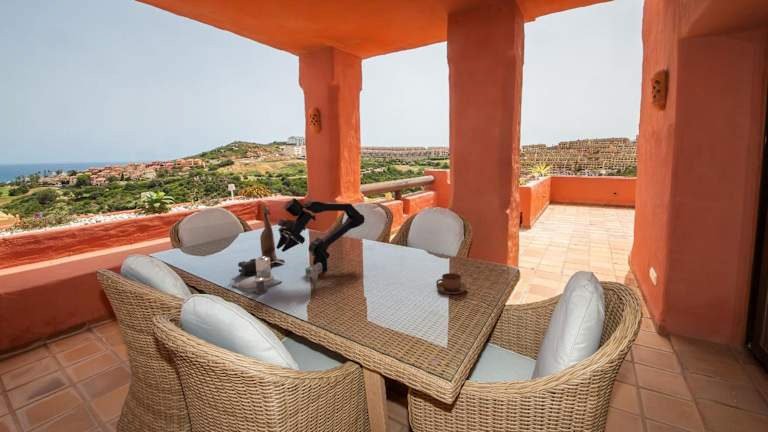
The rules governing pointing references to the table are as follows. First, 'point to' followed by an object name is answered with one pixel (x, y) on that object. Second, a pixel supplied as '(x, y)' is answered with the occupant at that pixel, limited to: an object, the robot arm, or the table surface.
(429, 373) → the table surface
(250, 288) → the turntable
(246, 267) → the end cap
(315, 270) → the mechanical component
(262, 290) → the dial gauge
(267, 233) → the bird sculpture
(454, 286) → the cup and saucer
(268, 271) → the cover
